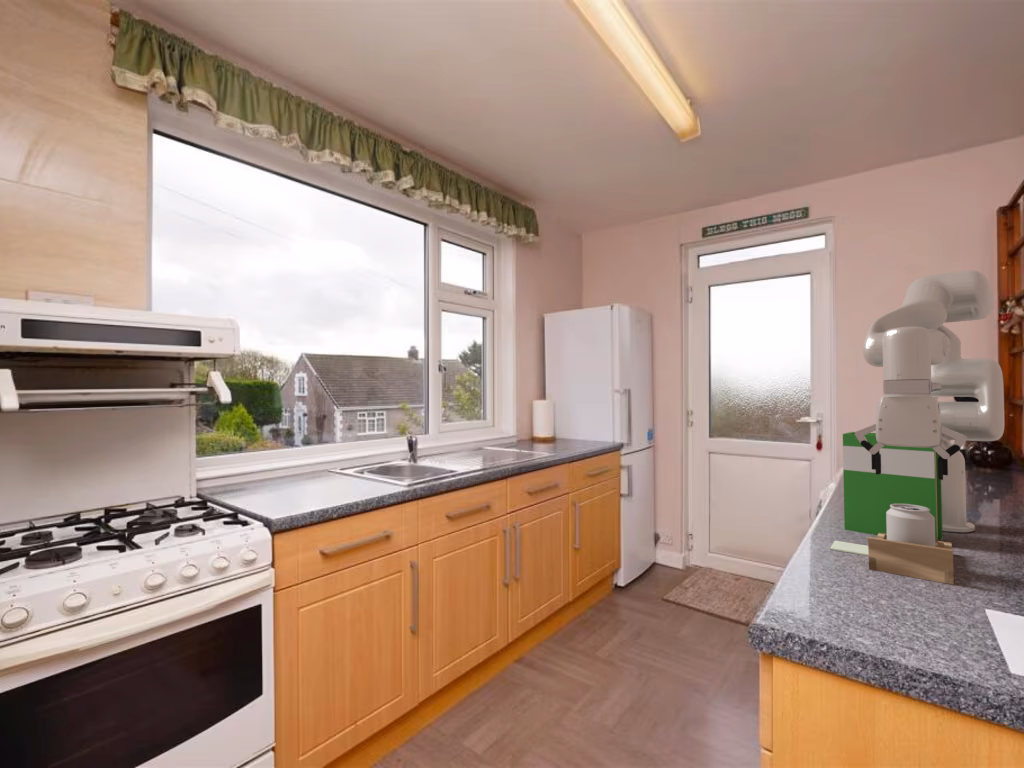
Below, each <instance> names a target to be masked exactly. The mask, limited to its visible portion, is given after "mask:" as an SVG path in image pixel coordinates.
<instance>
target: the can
mask: <svg viewBox="0 0 1024 768" xmlns="http://www.w3.org/2000/svg"><path fill="white" fill-rule="evenodd" d="M890 507H891V508H890V509H889V510H888V511H887V512H886V523H887V540H893V541H900V542H906V543H913V544H919V545H926V546H933V547H935V518H934V516H933V515H932V514H931V513H929V511H930V509H929V508H927V507H923V506H918V505H912V504H891V505H890Z"/></svg>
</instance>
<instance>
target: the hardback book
mask: <svg viewBox="0 0 1024 768" xmlns="http://www.w3.org/2000/svg"><path fill="white" fill-rule="evenodd" d="M855 432H856V431H850V432H844V433H842V464H843V465H842V467H843V468H842V469H843V471H842V472H843V506H844V508H843V512H844V514H843V516H844V520H843V521H844V530H845V531H848V532H849V531H850V532H856V533H862V534H867V535H872V534H873V536H878V533H886V534H887V523H886V512H887V511H888V510H889V509H890V508H891V507H890V505H891V504H912V505H918V506H923V507H927V508H929V509H930V511H929V513H931V514H932V515H933V516H934V518H935V537H936V538H938V540H940V539H942V540H944V539H943V538H944V537H943V531H942V492H941V480H940V479H938V458H939V454H938V453H937V452H936V451H935V450H934V449H933V448H918V447H899V446H883V447H882V448H881V449H880V450H879V453H880V454H881V474H879V475H878V474H876V470H873V469H872V458H871V453H870V452H869V451H868V450H866V449H865V448H864V447H863V446H862V445H861V443H860V442H859V440H858V439H857V437H856V436H855ZM865 438H866V440H867V441H868V442H869V443H870V444H872V445H873V446H874V445H875V444H876V443H878V442H877V440H876V432H871V433H868V434H866V435H865Z"/></svg>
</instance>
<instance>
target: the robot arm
mask: <svg viewBox="0 0 1024 768" xmlns="http://www.w3.org/2000/svg"><path fill="white" fill-rule="evenodd" d="M994 307H995V297H994V294H993V291H992V287H991V284H990V282H989V279H988V278H987V276H986V275H985V274H984V273H982V272H981V271H978V270H972V269H967V270H960V271H955V272H954V271H952V272H945V273H938V274H931V275H925V276H922V277H919V278H917V279H915V280H914V281H912V282H911V283H910V284H909V285H908V287H907V289H906V292H905V295H904V297H903V300H902V304H901V306H899V307H897V308H894V309H893V310H891V311H889V312H888V313H885V314H884V315H882V316H879V317H878V318H877V319H875V320H874V321H873V322H872V323H871V325H870V326H869V328H868V330H867V332H866V335H865V338H864V340H863V345H862V347H863V348H862V354H863V355H862V356H863V358H864V360H865V362H866V363H867V364H868V365H870V366H873V367H875V368H877V367H878V368H882V380H883V381H882V388H883V389H882V392H883V396H879V398H878V401H877V408H876V417H875V418H876V420H875V424H872V425H869V426H867V427H864V428H862V429H859V430H856V431H854V432H855V436H856V437H857V439H858V440H859V442H860V443H861V445H862V446H863V447H864V448H865V449H866V450H868V451H869V452H870V453H871V458H872V469H873V470H876V474H878V475H879V474H881V454H880V453H879V450H880V449H881V448H882V447H883V446H899V447H918V448H933V449H934V450H935V451H936V452H937V453H938V454H939V458H938V479H940V480H941V492H942V532H947V533H948V532H949V533H971V532H973V531H976V526H975V524H973V523H972V522H969V521H967V498H966V497H967V494H966V493H967V492H966V461H965V457H964V455H963V453H962V452H961V451H960V450H961V449H962V447H963V445H964V444H965V443H966V441H974V442H994V441H997V440H999V439H1001V438H1002V437H1003V434H1004V433H1005V432H1004V431H1005V395H1004V394H1005V393H1004V376H1003V371H1002V368H1001V366H1000V364H999V362H998V361H996V360H994V359H991V358H986V357H985V358H984V357H981V358H979V357H978V358H977V357H976V358H975V357H974V358H962V356H961V355H962V353H961V351H962V350H961V349H962V348H961V347H962V343H961V340H960V338H959V336H958V335H957V334H955V332H953V331H952V330H951V329H949V327H947V326H945V325H944V323H958V322H970V321H972V322H973V321H979V320H980V321H981V320H984V319H987V318H988V317H990V315H991V314H992V313H993V311H994ZM938 397H942V398H943V397H944V398H945V397H946V398H947V397H952V398H954V397H956V398H957V397H958V398H959V397H960V398H964V397H965V398H967V397H969V398H975V399H977V400H978V401H939V400H938ZM874 432H875V433H876V440H877V442H878V443H876V444H875V445H874V446H873V445H872V444H870V443H869V442H868V441H867V440H866V438H865V435H866V434H868V433H874ZM951 441H954V442H953V443H952V442H951Z"/></svg>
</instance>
